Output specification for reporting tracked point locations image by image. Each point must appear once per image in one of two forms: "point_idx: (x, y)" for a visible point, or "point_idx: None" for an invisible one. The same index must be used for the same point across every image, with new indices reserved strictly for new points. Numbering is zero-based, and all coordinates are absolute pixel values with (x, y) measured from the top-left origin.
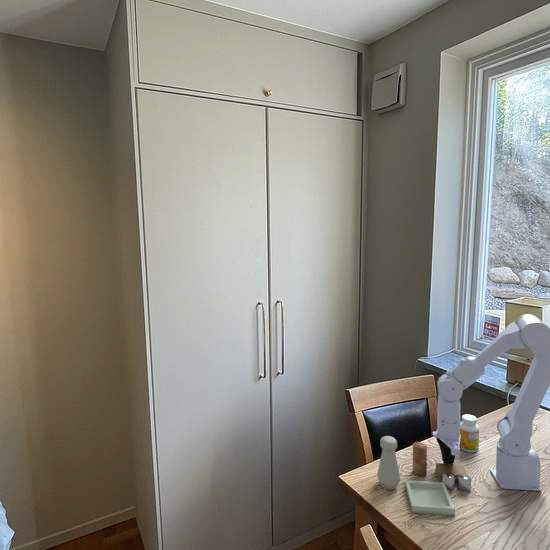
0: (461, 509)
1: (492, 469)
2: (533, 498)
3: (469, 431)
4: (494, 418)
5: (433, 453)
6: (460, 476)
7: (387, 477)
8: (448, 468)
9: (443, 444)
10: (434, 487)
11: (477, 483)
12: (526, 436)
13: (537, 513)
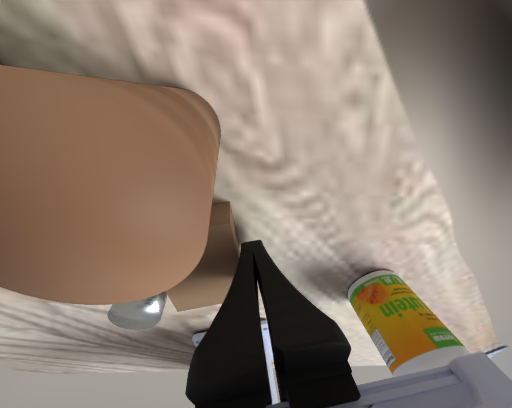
0: None
1: (264, 327)
2: (183, 362)
3: (400, 370)
4: (471, 321)
5: (351, 200)
6: (135, 307)
7: None
8: (200, 265)
9: (211, 394)
10: None
11: None
12: None
13: (132, 366)
